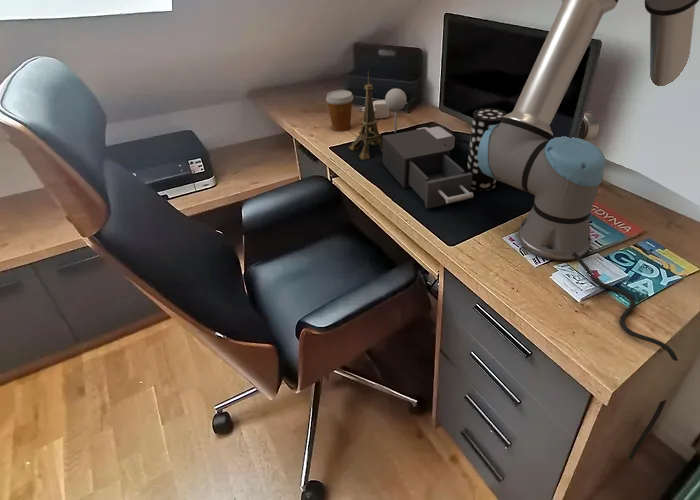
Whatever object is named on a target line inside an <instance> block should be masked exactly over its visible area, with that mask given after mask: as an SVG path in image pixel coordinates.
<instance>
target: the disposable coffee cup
mask: <svg viewBox="0 0 700 500" xmlns="http://www.w3.org/2000/svg"><path fill="white" fill-rule="evenodd" d="M325 100H326V102H327V106H328V111H329V116H330V120H331V125H332V129H333V130H334V131H337V132H342V131H347V130H350V128H351V121H352V120H351V119H352V107H353V100H354V95H353V93H352V92H351V91H350V90H346V89H337V90H332V91H329V92H327V94H326V97H325Z"/></svg>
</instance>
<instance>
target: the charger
mask: <svg viewBox="0 0 700 500" xmlns="http://www.w3.org/2000/svg"><path fill="white" fill-rule="evenodd" d="M418 129H426V130H427V131H428V132H429V133H430V134H432V135H433V136H434V137H435V138H436V139H438V140H439V141H440V142H441V143H442V144H444V145H445V146H446V147H447V148H448V149H450V151H451V150H453V149H454V148H455V141H456V137H455V136H454V135H453V134H451V133H450V132H448V131H447V130H445V129H444V128H443V127H441V126H432V127H427V126H424V127H419V128H418V127H417V128H416V130H418Z"/></svg>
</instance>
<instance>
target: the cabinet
mask: <svg viewBox="0 0 700 500" xmlns="http://www.w3.org/2000/svg"><path fill="white" fill-rule="evenodd" d="M382 140H383V153H382V165H383V166H384V167H385V168H386V169H387V171H388V172H389V173H390V174H391V176H392V177H393V178H394V179H395V180H396V181H397V182H398V183H399V184H400V186H401V187H402V188H403V189H408V188H412V187H411V186H410V185H409V184H408V183H407V161H409V160H415V159H420V158H425V157H430V156H435V155H440V154H446V155H447V156H448V157H449V158H450V159H451V150H450V149H448V148H447V147H446V146H445V145H444V144H442V143H441V142H440V141H439V140H438V139H436V138H435V137H434V136H433V135H432V134H430V133H429V132H428V131H427V130H426V129H419V128H418V130H417V129H413V130H408V131H407V130H406V131H402V132H396V133H391V134H385V135H382Z"/></svg>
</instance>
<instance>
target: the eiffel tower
mask: <svg viewBox="0 0 700 500" xmlns="http://www.w3.org/2000/svg"><path fill="white" fill-rule="evenodd" d="M363 89H364V90H365V100H364V107H365V109H363V110H364V112H363V118H362V119H361V120H360V122H361V129H360V132H358V134H359V135H357V137H356V138H355V140H353V142H352V143H351V145H350V146H349V145H348V149H349V150H350V151H351V152H352V151H357V150H360V149H361V147H360V146H361V144H362V142H363V144H364V145H363V147H362V150H361V151H360V154H359V155H358V158H359V159H360V160H362V161H364V160H368V159H371V156H370V153H369V145H370V144H371V145H372V146H377V145H378V146H379V148H380V152H381V153H382V154H383V138H382V137H381V134H380V132H379V128H378V125H377V124H379V122H378V120H377V119H375V114H374V108H373V101H374V100H373V93H372V90H374V87H373V84H371V83H370V76H369V71H367V84H364V87H363Z"/></svg>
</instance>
